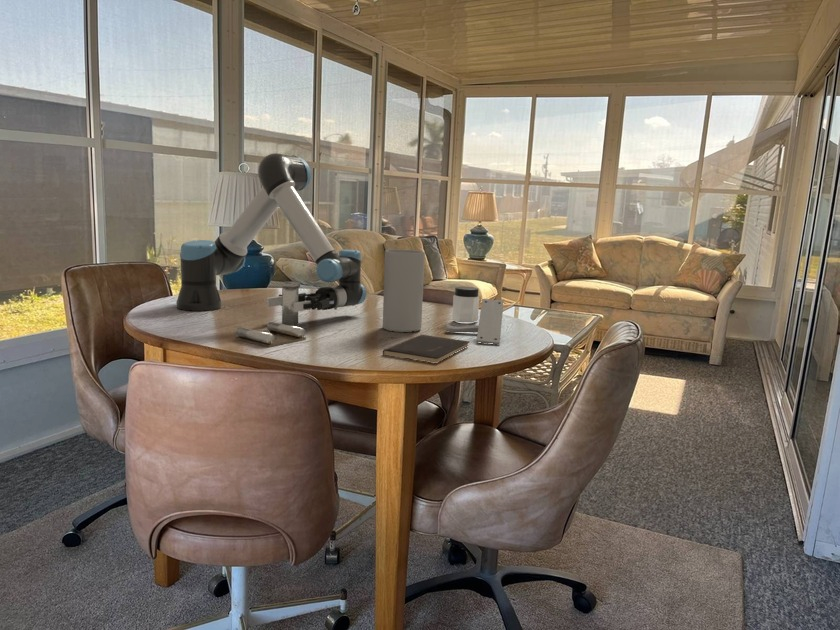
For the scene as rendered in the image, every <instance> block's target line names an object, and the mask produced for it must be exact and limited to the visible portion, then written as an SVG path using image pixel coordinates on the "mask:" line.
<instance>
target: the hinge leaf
mask: <svg viewBox="0 0 840 630" xmlns="http://www.w3.org/2000/svg"><path fill="white" fill-rule="evenodd" d="M266 327H267V328H266V329H267V330H266V331H259V330H256V329H250V328H247V327H242V326H238V327H237V328H236V329H235V336H234V340H237V339H238V340H237V341H242V342H245V343H250V344H253V345H257V346H261V347H266V348H272V347H276V346H277V347H278V346H280V345H286V344H292V343H296V342H301V341H305V340H307V337H306V336H305V334H306V330H305V329H304V328H302V327H299V326H298V327H294V326H289V325H285V324H282V323H280V322H279V323H278V322H274V321H269V322H268V323H267V325H266Z"/></svg>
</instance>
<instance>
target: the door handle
mask: <svg viewBox="0 0 840 630" xmlns="http://www.w3.org/2000/svg"><path fill="white" fill-rule="evenodd" d="M504 302H505V301H504V300H499V299H491V298H482V300H481V304H480V305H481V306H480V313H479V318H478V325H477V324H476V325H475V324H474V325H466V326H465V325H464V326H453V325H451V324H450V323H446V324H445V326H444V327H445V332H446V331H449V332H473V333H477V336H476V343H477V342H481V343H493V344H499V345H500V343H501V335H502V334H501V333H502V324H503V314H504V313H503V311H504Z"/></svg>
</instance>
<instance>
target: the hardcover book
mask: <svg viewBox="0 0 840 630" xmlns="http://www.w3.org/2000/svg"><path fill="white" fill-rule="evenodd" d="M469 343H470V341H467V340H461V339H455V338H448V337H447V338H446V337H441V336H440V337H439V336H434V335H426V334H419V335H416V336H414V337H412V338H409V339H406V340H405V341H402V342H399V343H397V344H394V345H392V346H390V347H387V348H384V349H383V350H382V356H385V355H390V356H389V357H391V356H396V357H395V358H397V357H402V358H401V359H403V358H410V359H417V360H425V361H430V362H438V361H440V360H442V359H444V358H446V357H448V356H450V355H451V354H453V353H455V352H457V351H459V350H461V349H463V348H465V347H467V346H468V347H469ZM468 347H467V348H468ZM465 349H466V348H465ZM450 357H451V356H450ZM448 358H449V357H448Z"/></svg>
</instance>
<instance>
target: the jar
mask: <svg viewBox="0 0 840 630" xmlns="http://www.w3.org/2000/svg"><path fill="white" fill-rule="evenodd" d="M479 290H480V289H479V288H477V287H473V286H456V287H454V294H453V298H452V300H453V301H452V312H451V313H452V314H451V317H452V318H451V321H452V320H454V321H457V322H474V321H477V320H478V321H479V310H480V309H479V308H480V307H479V306H480V296H479Z"/></svg>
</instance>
